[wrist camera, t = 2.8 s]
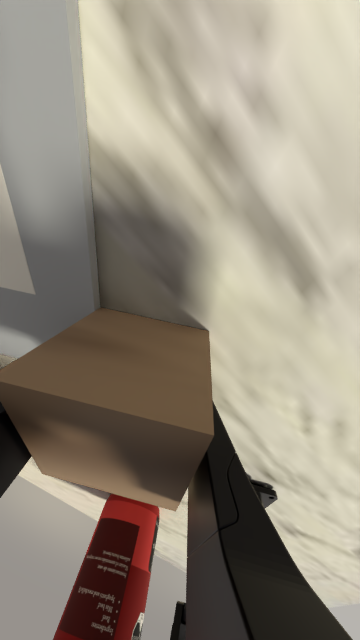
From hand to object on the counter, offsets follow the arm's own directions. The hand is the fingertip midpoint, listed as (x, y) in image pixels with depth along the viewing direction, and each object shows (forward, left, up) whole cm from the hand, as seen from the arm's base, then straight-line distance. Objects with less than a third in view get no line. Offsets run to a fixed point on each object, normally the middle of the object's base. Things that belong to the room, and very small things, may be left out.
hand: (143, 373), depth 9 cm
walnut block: (0, 0, -1) cm, 1 cm away
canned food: (-27, 0, -1) cm, 27 cm away
